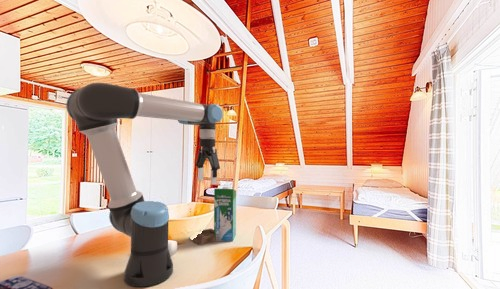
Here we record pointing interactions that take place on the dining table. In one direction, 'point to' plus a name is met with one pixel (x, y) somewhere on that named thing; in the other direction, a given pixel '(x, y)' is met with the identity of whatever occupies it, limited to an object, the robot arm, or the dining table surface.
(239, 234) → the dining table surface
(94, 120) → the robot arm
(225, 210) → the milk carton
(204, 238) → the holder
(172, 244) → the paper roll
